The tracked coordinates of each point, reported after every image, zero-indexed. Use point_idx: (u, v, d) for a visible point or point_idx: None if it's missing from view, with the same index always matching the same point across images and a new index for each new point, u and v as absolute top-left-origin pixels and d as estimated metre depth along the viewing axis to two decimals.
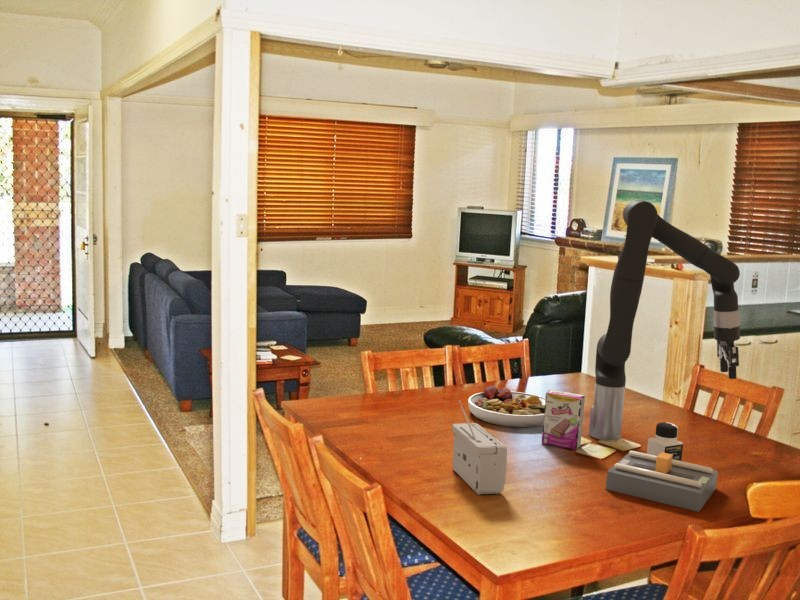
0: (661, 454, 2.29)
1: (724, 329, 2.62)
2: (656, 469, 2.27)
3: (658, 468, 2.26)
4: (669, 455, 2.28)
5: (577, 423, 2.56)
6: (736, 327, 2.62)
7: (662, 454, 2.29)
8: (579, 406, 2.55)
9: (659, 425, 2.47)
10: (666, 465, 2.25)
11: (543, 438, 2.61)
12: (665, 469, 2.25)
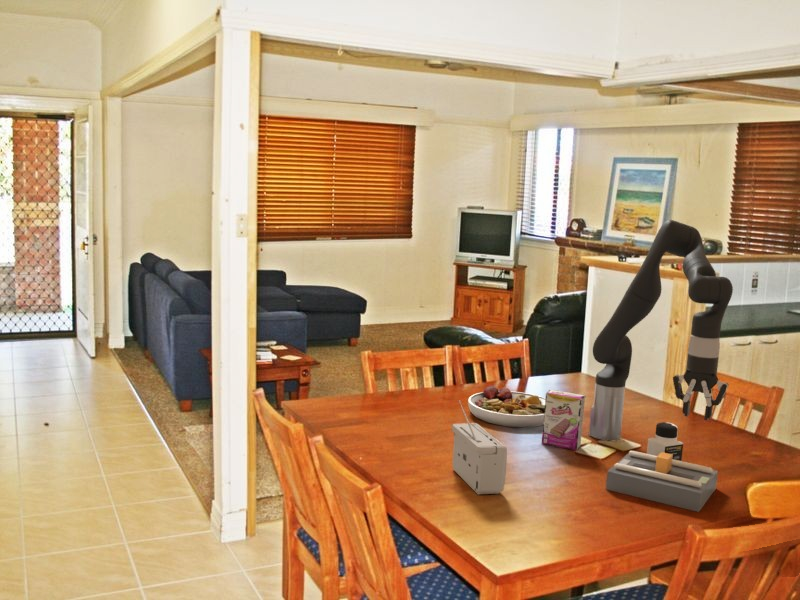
0: (661, 454, 2.29)
1: None
2: (656, 469, 2.27)
3: (658, 468, 2.26)
4: (669, 455, 2.28)
5: (577, 423, 2.56)
6: (688, 354, 2.20)
7: (662, 454, 2.29)
8: (579, 406, 2.55)
9: (659, 425, 2.47)
10: (666, 465, 2.25)
11: (543, 438, 2.61)
12: (665, 469, 2.25)
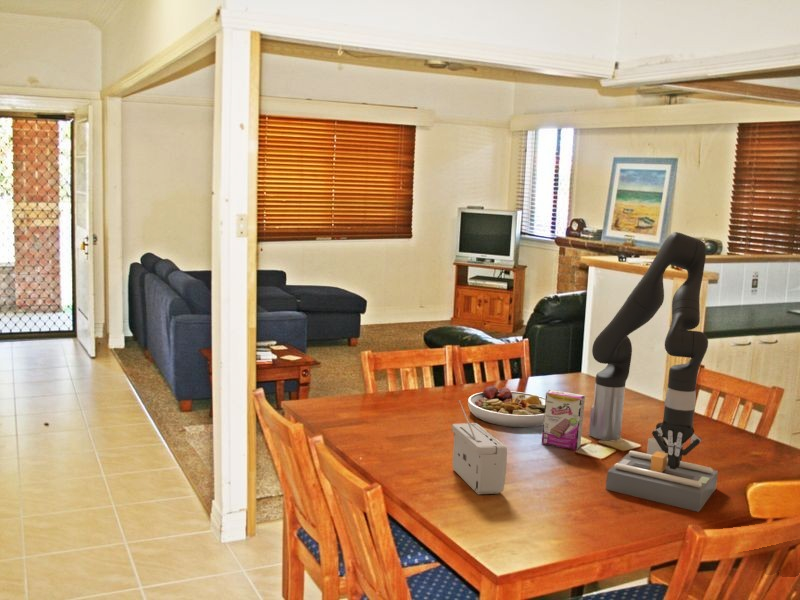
0: (656, 453, 2.29)
1: None
2: (651, 468, 2.27)
3: (653, 467, 2.27)
4: (664, 454, 2.29)
5: (577, 423, 2.56)
6: (665, 406, 2.24)
7: (657, 453, 2.29)
8: (579, 406, 2.55)
9: (659, 425, 2.47)
10: (661, 464, 2.26)
11: (543, 438, 2.61)
12: (660, 468, 2.26)
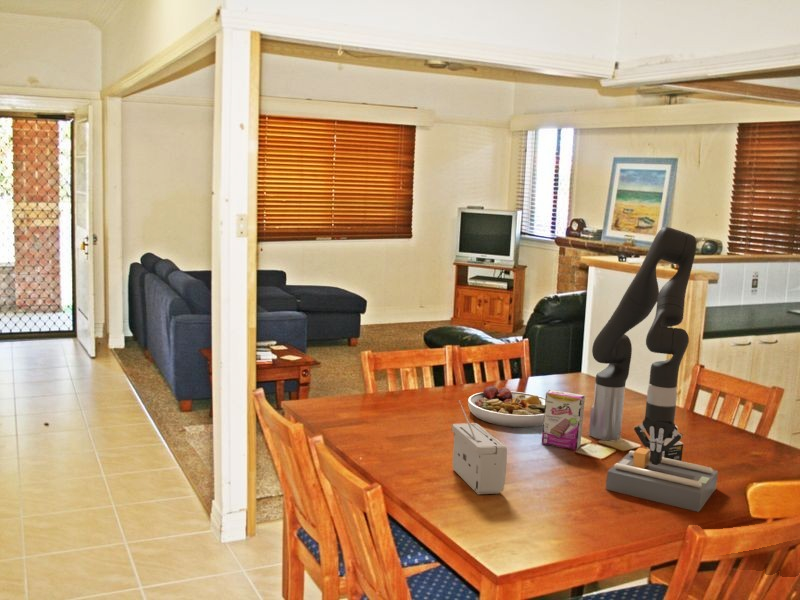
0: (639, 449, 2.32)
1: None
2: (634, 464, 2.30)
3: (635, 463, 2.29)
4: (646, 450, 2.31)
5: (577, 423, 2.56)
6: (647, 402, 2.27)
7: (640, 449, 2.32)
8: (579, 406, 2.55)
9: None
10: (643, 460, 2.28)
11: (543, 438, 2.61)
12: (642, 464, 2.29)
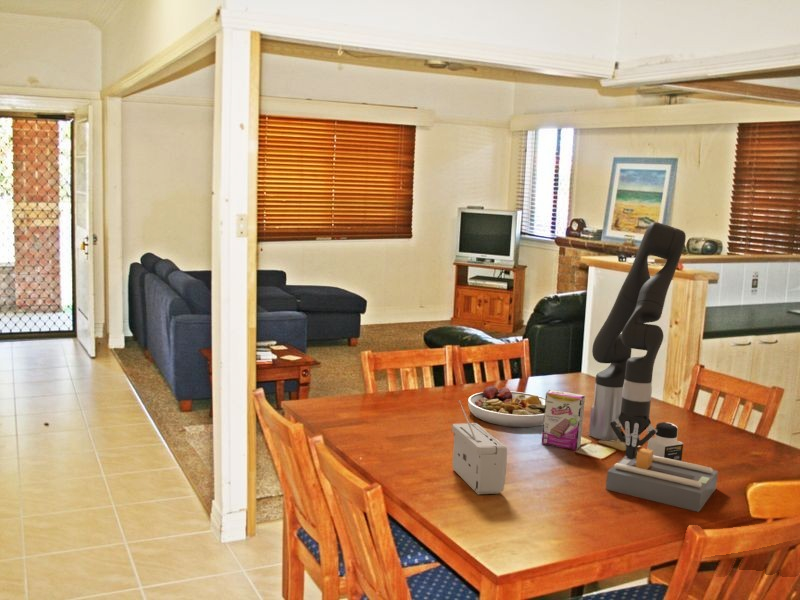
0: (642, 450, 2.31)
1: None
2: (637, 465, 2.29)
3: (638, 464, 2.29)
4: (650, 451, 2.31)
5: (577, 423, 2.56)
6: (622, 397, 2.30)
7: (643, 450, 2.31)
8: (579, 406, 2.55)
9: (659, 425, 2.47)
10: (646, 461, 2.28)
11: (543, 438, 2.61)
12: (645, 465, 2.28)
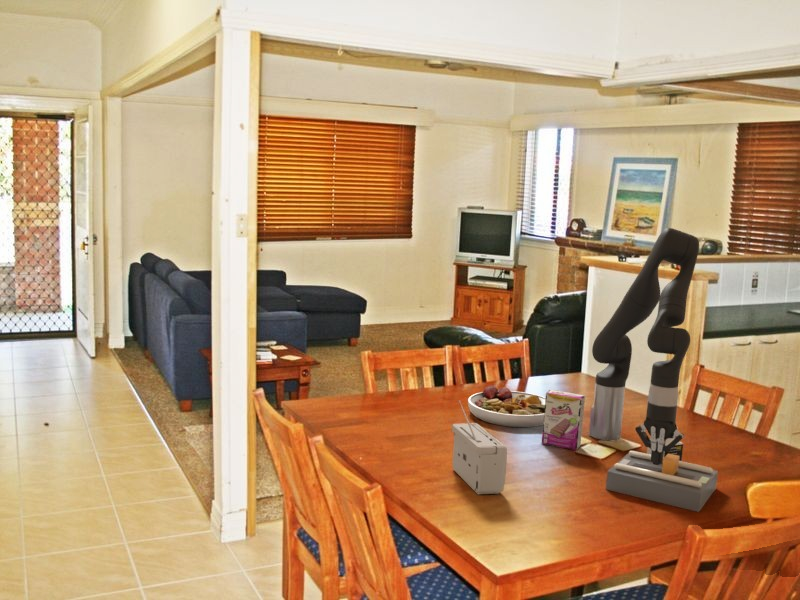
0: (668, 455, 2.28)
1: None
2: (663, 471, 2.26)
3: (664, 469, 2.26)
4: (676, 456, 2.27)
5: (577, 423, 2.56)
6: (648, 402, 2.26)
7: (669, 455, 2.28)
8: (579, 406, 2.55)
9: None
10: (673, 466, 2.24)
11: (543, 438, 2.61)
12: (672, 471, 2.25)
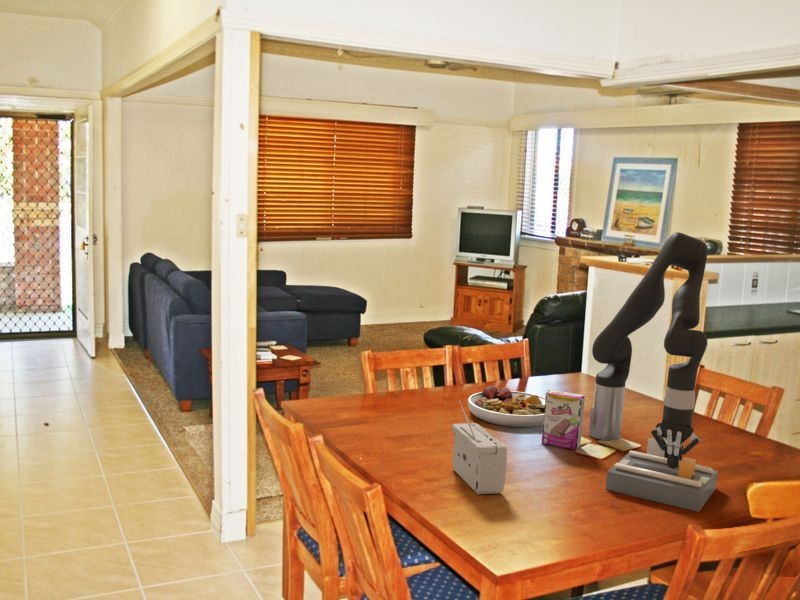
0: (684, 459, 2.25)
1: None
2: (679, 474, 2.24)
3: (681, 473, 2.23)
4: (692, 460, 2.25)
5: (577, 423, 2.56)
6: (664, 405, 2.24)
7: (685, 459, 2.26)
8: (579, 406, 2.55)
9: (659, 425, 2.47)
10: (689, 470, 2.22)
11: (543, 438, 2.61)
12: (688, 474, 2.22)
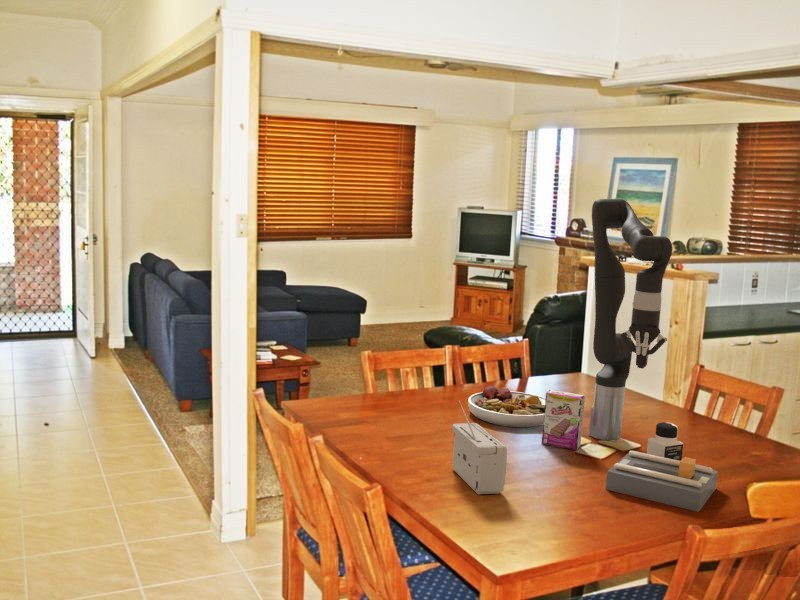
0: (684, 459, 2.25)
1: None
2: (679, 474, 2.24)
3: (681, 473, 2.23)
4: (692, 460, 2.25)
5: (577, 423, 2.56)
6: (633, 308, 2.39)
7: (685, 459, 2.26)
8: (579, 406, 2.55)
9: (659, 425, 2.47)
10: (689, 470, 2.22)
11: (543, 438, 2.61)
12: (688, 474, 2.22)
